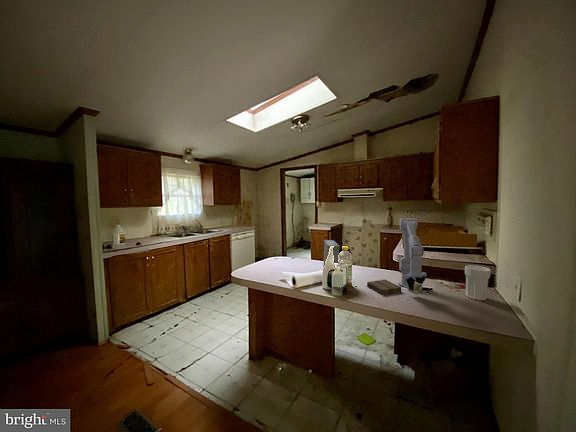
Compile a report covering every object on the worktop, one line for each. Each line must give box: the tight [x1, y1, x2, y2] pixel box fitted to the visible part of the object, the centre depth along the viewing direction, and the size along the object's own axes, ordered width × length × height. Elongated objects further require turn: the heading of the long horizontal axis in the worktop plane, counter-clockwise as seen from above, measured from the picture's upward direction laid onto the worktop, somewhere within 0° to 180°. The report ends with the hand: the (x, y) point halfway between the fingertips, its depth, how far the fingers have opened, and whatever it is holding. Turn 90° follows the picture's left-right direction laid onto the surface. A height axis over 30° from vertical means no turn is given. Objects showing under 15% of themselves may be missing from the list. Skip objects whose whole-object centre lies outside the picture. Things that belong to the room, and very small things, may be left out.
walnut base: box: [366, 279, 402, 296], centre depth 145 cm, size 14×14×3 cm
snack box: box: [322, 239, 340, 268], centre depth 166 cm, size 22×9×26 cm, turn 179°
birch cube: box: [407, 282, 423, 295], centre depth 133 cm, size 5×5×5 cm
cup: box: [464, 264, 492, 302], centre depth 131 cm, size 11×11×17 cm
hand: (414, 289), depth 133 cm, fingers closed on birch cube, 5 cm apart
